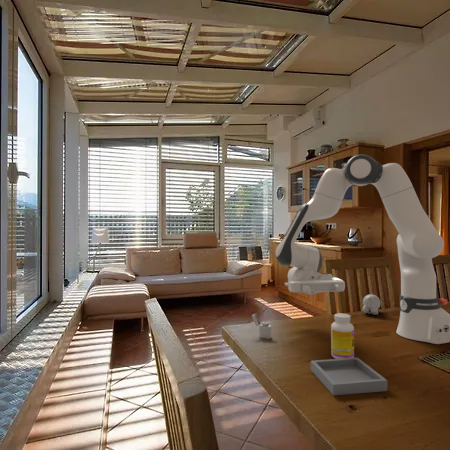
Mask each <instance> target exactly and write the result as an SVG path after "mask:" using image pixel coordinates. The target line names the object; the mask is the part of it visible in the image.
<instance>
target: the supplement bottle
mask: <svg viewBox="0 0 450 450" xmlns="http://www.w3.org/2000/svg"><path fill="white" fill-rule="evenodd" d="M333 315H334V317H333V319H334V321H333V322H332V323H331V325H330V329H331V330H330V333H331V334H330V337H331V339H330V341H331V343H330V348H331V351H330V352H331V353H330V355H331V356H332V358H333V359H344V358H355V327H354V325H353V323H351V315H350V314H348V313H341V312H339V313H335V314H333Z"/></svg>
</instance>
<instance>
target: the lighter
mask: <svg viewBox="0 0 450 450" xmlns="http://www.w3.org/2000/svg"><path fill="white" fill-rule="evenodd" d="M251 318H252V321H253V323H254V325H255V326H256V327H258V326H259V327H258V331H259V333H258V337H259V338H263V339H267V340H270V339H272V325H269V322H265V321H263V322H262V323H261V320H260V318H259V316H258V313H254V314H251Z"/></svg>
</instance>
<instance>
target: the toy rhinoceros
mask: <svg viewBox="0 0 450 450" xmlns="http://www.w3.org/2000/svg"><path fill="white" fill-rule="evenodd" d="M381 304H382V303H381V299H380V298H379V297H378V296H377V295H375V294H372V293H371V294H367V295H365V296H364V297H363V299H362V305H363V307H362V309H361V310H362V312H363V313H364V312H365V314H367V313H368V314H367V315H370V314H372V315H375V316H378V315H379V309H380V307H381Z"/></svg>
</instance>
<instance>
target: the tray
mask: <svg viewBox="0 0 450 450" xmlns="http://www.w3.org/2000/svg"><path fill="white" fill-rule="evenodd" d="M310 371H311V372H312V374H314V375H315V377H316V378H317V379H318V380H319V382H321V383H322V384H323V386H324V387H325V388H326V389H327V391H329V393H330V394H331V395H332V396H343V395H354V394H365V393H368V394H369V393H378V392H379V393H380V392H387V391H388V379H386V378H385V377H384V376H383V375H381V374H380V373H378V372H377V371H376V370H374V368H372V367H371V366H370V365H368V364H367V363H366V362H364V361H363V360H361V359H360V358H359V357H354V358H344V359H335V358H333V359H332V358H331V359H319V360H318V359H317V360H310Z"/></svg>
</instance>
